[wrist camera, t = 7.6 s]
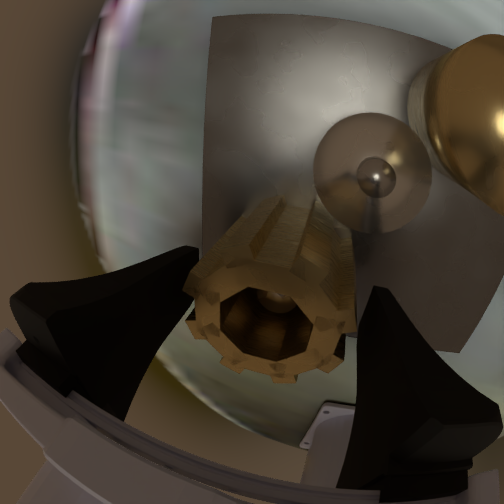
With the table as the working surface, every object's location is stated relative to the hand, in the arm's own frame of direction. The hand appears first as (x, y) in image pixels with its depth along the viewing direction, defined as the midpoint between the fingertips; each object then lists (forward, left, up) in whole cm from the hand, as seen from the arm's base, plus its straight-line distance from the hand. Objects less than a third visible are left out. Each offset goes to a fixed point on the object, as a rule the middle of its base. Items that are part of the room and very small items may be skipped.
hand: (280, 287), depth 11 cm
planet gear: (0, 0, -2) cm, 2 cm away
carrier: (+4, -4, -3) cm, 6 cm away
